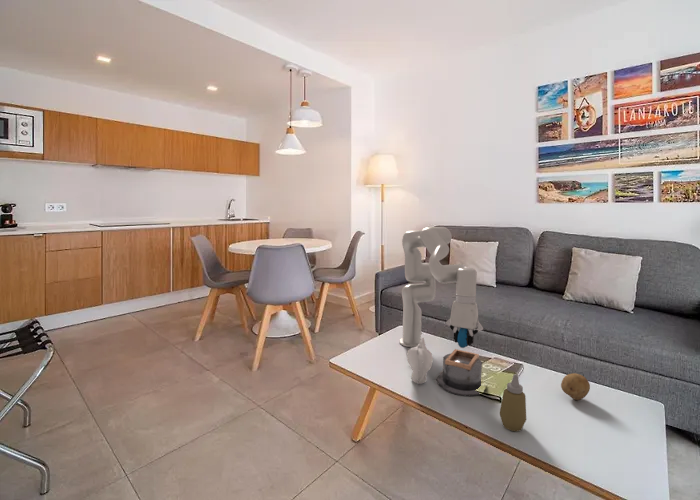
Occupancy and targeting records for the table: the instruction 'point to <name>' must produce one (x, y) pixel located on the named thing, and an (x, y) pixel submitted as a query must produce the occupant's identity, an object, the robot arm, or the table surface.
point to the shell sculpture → (419, 362)
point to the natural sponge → (575, 386)
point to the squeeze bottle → (513, 406)
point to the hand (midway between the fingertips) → (463, 342)
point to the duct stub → (461, 373)
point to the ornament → (463, 337)
